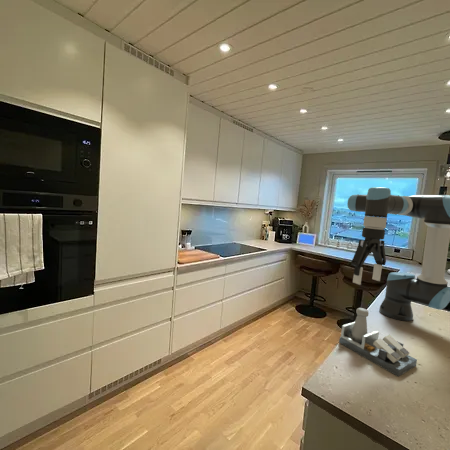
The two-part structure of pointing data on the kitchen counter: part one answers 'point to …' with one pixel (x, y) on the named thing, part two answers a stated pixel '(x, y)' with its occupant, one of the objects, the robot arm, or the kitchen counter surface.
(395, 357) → the rocker
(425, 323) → the kitchen counter surface
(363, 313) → the salt shaker
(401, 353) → the rocker
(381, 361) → the grey mechanical fixture
